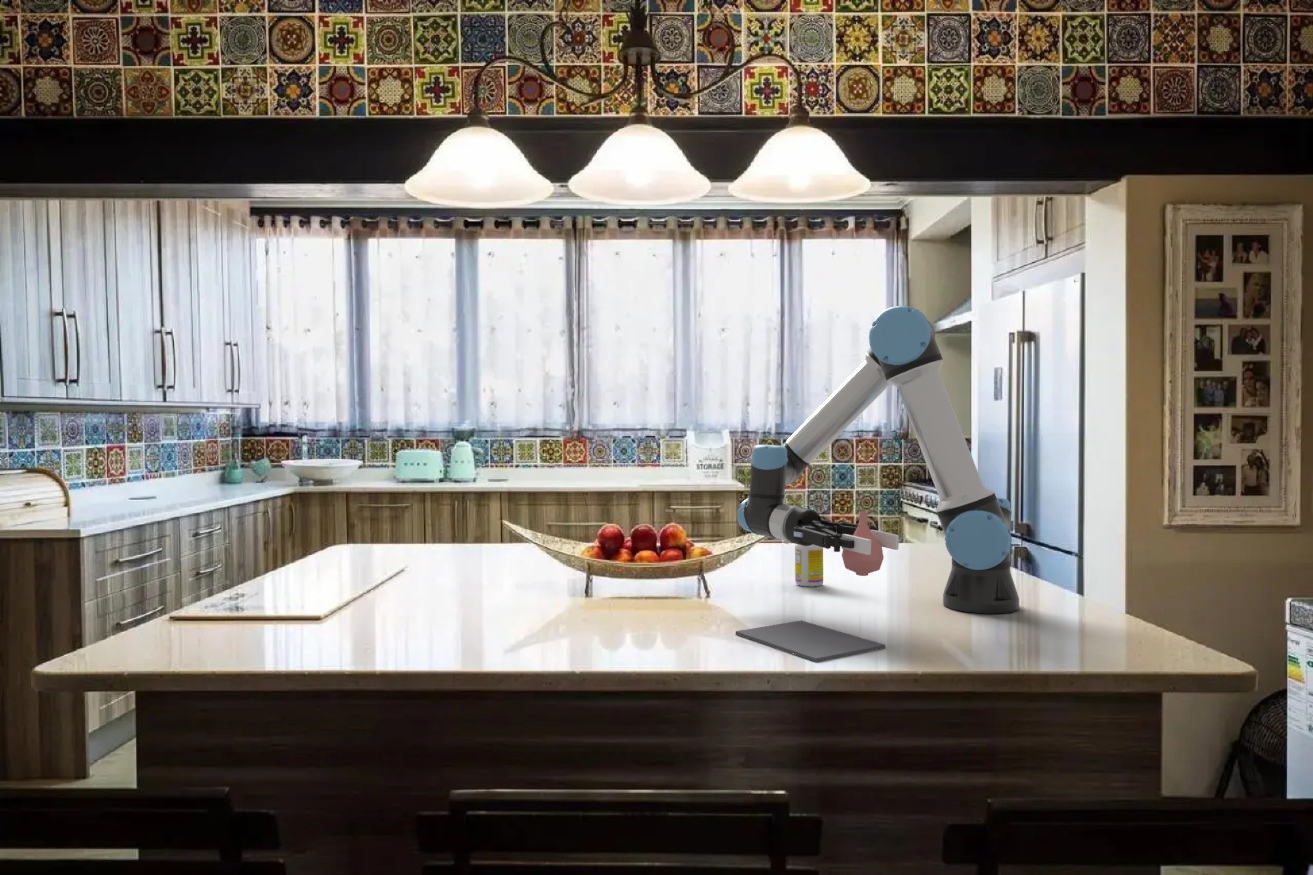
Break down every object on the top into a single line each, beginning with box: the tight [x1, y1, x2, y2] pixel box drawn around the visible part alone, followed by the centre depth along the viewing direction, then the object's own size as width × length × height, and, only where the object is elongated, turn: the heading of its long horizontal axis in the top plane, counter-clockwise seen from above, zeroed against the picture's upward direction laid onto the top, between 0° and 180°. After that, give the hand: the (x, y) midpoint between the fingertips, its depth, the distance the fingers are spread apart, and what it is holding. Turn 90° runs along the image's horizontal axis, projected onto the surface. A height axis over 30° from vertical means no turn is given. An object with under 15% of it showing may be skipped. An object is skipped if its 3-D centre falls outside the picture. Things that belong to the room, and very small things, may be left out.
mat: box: [735, 619, 886, 663], centre depth 161 cm, size 16×22×1 cm
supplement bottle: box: [794, 543, 824, 588], centre depth 213 cm, size 7×7×13 cm
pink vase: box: [841, 510, 884, 577], centre depth 169 cm, size 8×8×12 cm
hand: (883, 544), depth 165 cm, fingers closed on pink vase, 7 cm apart
